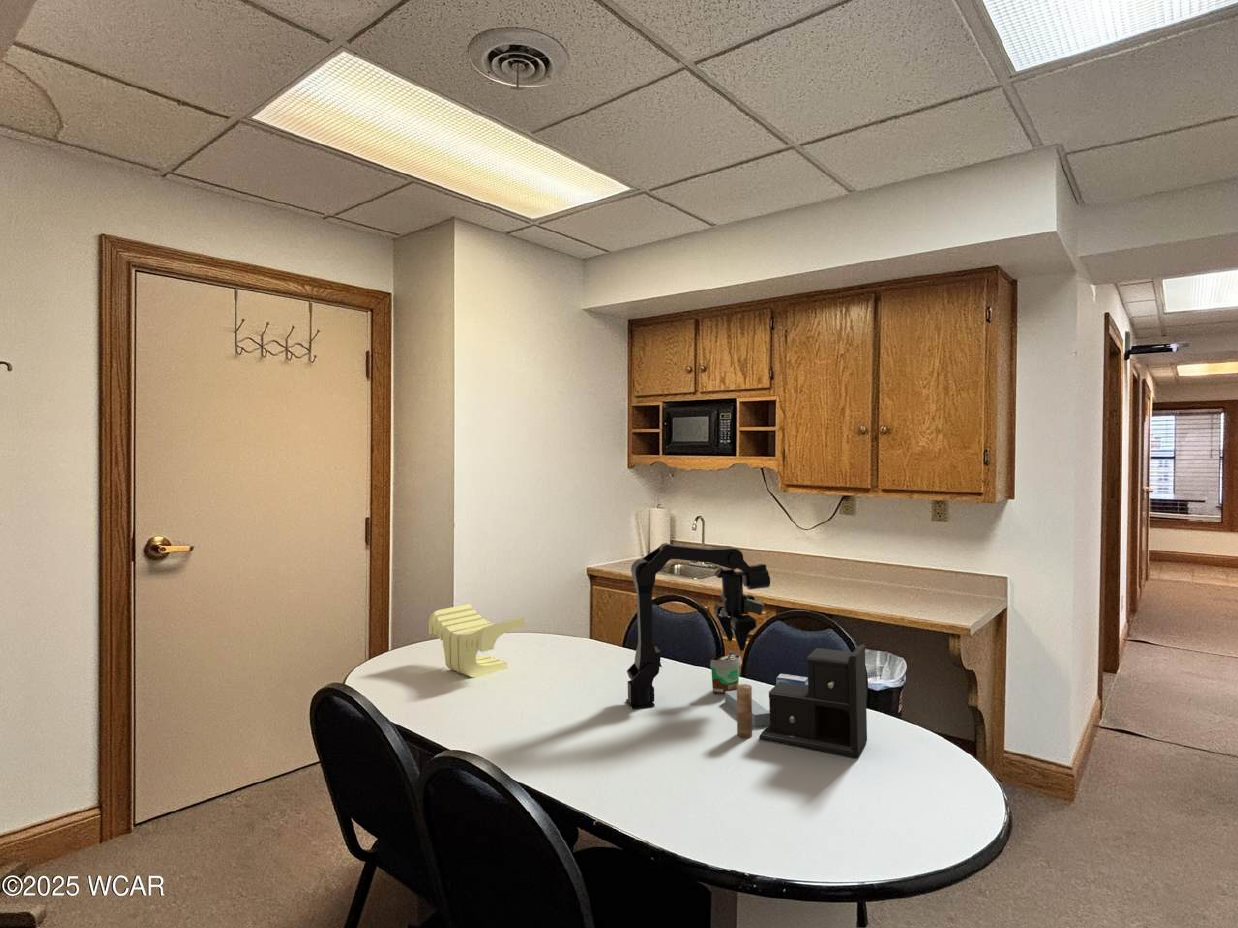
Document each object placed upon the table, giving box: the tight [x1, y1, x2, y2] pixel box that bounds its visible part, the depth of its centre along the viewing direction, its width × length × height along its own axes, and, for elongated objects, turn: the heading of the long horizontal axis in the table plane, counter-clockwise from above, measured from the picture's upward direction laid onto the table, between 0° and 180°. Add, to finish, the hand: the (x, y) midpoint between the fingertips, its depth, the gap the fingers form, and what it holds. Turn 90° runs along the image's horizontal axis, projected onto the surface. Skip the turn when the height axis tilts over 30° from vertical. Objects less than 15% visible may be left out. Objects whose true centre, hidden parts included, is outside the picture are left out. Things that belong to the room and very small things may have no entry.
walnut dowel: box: [736, 683, 753, 739], centre depth 174 cm, size 4×4×12 cm
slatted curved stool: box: [428, 603, 525, 678], centre depth 229 cm, size 30×16×18 cm, turn 46°
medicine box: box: [775, 673, 808, 685], centre depth 191 cm, size 8×4×9 cm, turn 62°
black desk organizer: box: [758, 643, 868, 759], centre depth 170 cm, size 23×11×24 cm, turn 60°
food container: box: [709, 650, 743, 696], centre depth 205 cm, size 12×6×10 cm, turn 143°
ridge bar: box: [724, 690, 770, 728], centre depth 188 cm, size 4×18×3 cm, turn 16°
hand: (735, 645), depth 201 cm, fingers open, 9 cm apart
